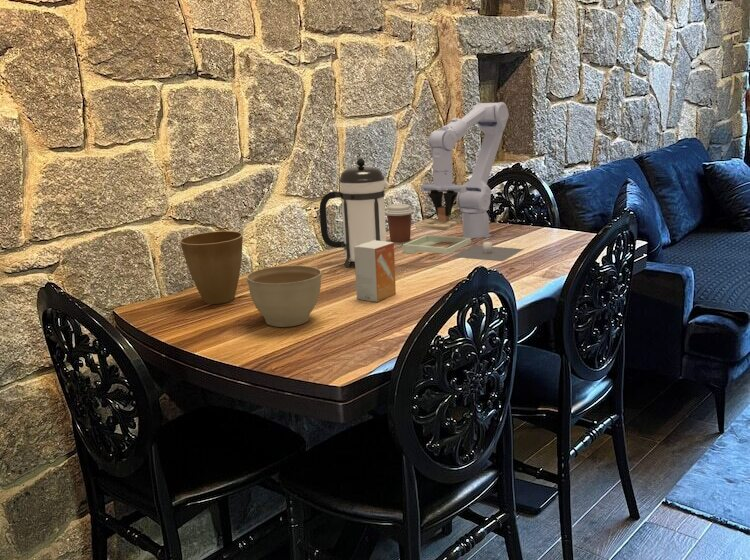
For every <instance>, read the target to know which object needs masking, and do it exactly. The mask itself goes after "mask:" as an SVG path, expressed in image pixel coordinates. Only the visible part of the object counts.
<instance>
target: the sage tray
mask: <svg viewBox="0 0 750 560" xmlns="http://www.w3.org/2000/svg"><path fill="white" fill-rule="evenodd" d="M441 242H446V243H455V244H453V245H451V246H448V247H442V246H434V245H436V244H439V243H441ZM470 244H472V238H465V237H463V236H462V237H459V236H446V235H434V234H426V235H425V234H424V235H423V236H420V237H417V238H416V239H414V240H410V242H408V243H405V244H403V245H402V248H401V249H402V254H410V253H411V254H412V255H413V254H416V253H418V252H425V253H436V254H446V255H448V254H449V255H450V254H451V253H453V252H456V251H457V250H460V249H462V248H464V247H465V246H468V245H470Z"/></svg>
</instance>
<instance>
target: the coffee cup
mask: <svg viewBox="0 0 750 560" xmlns="http://www.w3.org/2000/svg"><path fill="white" fill-rule="evenodd" d="M412 214H414V210H413V209H412V208H411V205H409V204H406V203H399V204H396V203H395V204H390V205H388V207H387V210H385V216H386V218H387V223H388V224H387V225H388V232H389V240H390V241H389V242H394V246H395V245H398V246H401V245H400V244H405V243H408V242H410V241H411V231H412V229H411V227H412Z"/></svg>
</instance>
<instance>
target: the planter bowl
mask: <svg viewBox="0 0 750 560" xmlns="http://www.w3.org/2000/svg"><path fill="white" fill-rule="evenodd" d="M246 282H247V284H248V290H249V294H250V297H251V300H252V302H253V304H254V306H255V307H256V309H257V311H258V312H259V313H260V314H261V316H263V317H264V320H265V323H266V324H267V325H269V326H272V327H277V328H289V327H295V326H299V325H303V324H305V323H307V322H308V321H309V320H310V314H311V313H312V312H313V310H314V308H315V306H316V305H317V302H318V300H319V298H320V294H321V293H320V292H321V285H322V270H320V269H319V268H317V267H313V266H308V265H277V266H269V267H265V268H262V269H257V270H254V271H252V272H250V273H248V274H247V275H246Z"/></svg>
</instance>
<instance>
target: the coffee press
mask: <svg viewBox="0 0 750 560" xmlns="http://www.w3.org/2000/svg"><path fill="white" fill-rule="evenodd" d="M365 163H366V162H365V159H363V158H358V159H357V160H356V164H357V166H358V167H351V168H347V169H345V170H343V171H342V172H341V174H340V177H339V178H338V182H339V183H340V191H330V192H328V193H325V194H324V196H323V197H322V198H321V199H320V203H319V221H320V222H319V224H320V233H321V237H322V240H323V242H324V243H325V244H326V245H327V246H329V247H330V248H331V247H332V248H340V249H341V248H342V249H344V254H345V255H344V257H345V260H344V263H343V267H344V268H347V269H350V268H351V266H352V265H354V264H355V255H354V247H355V246H358V245H361V244H363V243H367V242H370V241H373V240H376V241H386V242H387V235H386V233H387V231H386V215H385V211H386V210H385V197H386V192H385V188H386V187H387V188H389V187H390V186H391V185H390V183H389V182H388V180H387V179H386V177H385V175H384V174H383V171H382V170H381V169H379V168H377V167H372V166H369V167H368V166H364V165H365ZM335 198H340V199H341V209H342V226H343V228H342V230H343V241H334V240H332V239H331V238H330V236H329V233H328V220H327V219H328V218H327V204H328V202H329V201H330V199H331V200H332V199H335Z"/></svg>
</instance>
